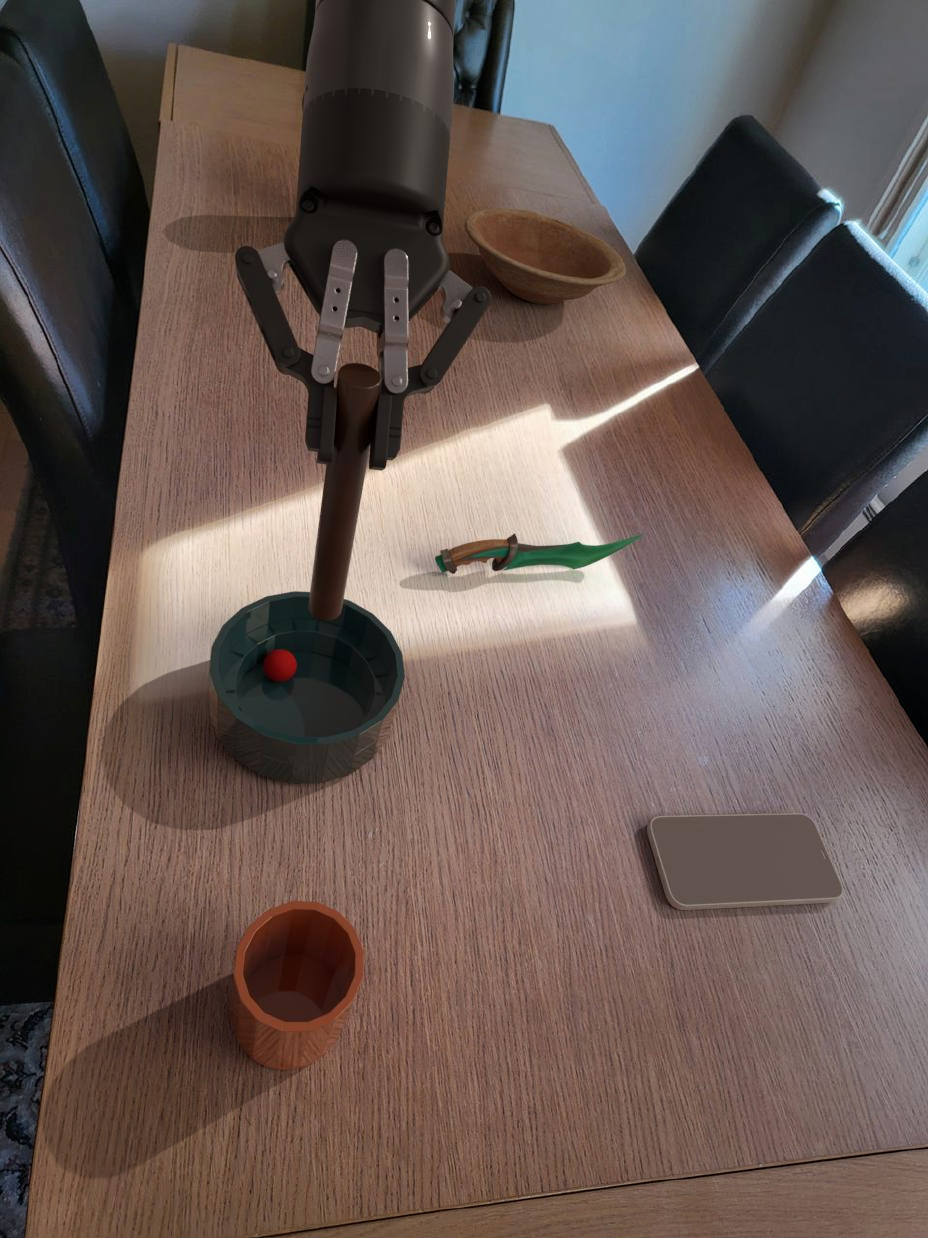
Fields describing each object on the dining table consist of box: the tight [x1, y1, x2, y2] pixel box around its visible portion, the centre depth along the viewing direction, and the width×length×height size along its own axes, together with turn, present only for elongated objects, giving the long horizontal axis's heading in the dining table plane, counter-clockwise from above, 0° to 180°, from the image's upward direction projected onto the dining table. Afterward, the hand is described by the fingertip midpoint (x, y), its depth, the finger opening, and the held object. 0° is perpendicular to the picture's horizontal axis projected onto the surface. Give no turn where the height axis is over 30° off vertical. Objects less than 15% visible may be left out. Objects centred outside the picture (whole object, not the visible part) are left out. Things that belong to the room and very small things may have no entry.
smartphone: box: [646, 812, 844, 911], centre depth 65 cm, size 7×1×15 cm
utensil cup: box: [230, 900, 365, 1071], centre depth 48 cm, size 7×7×8 cm
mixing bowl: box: [208, 590, 406, 784], centre depth 64 cm, size 14×14×6 cm
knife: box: [434, 533, 645, 575], centre depth 81 cm, size 21×2×5 cm, turn 105°
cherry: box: [263, 649, 297, 682], centre depth 66 cm, size 3×3×3 cm
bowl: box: [464, 207, 627, 305], centre depth 120 cm, size 24×24×8 cm
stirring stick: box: [308, 362, 382, 621], centre depth 48 cm, size 2×2×18 cm
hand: (351, 464), depth 43 cm, fingers closed on stirring stick, 2 cm apart
